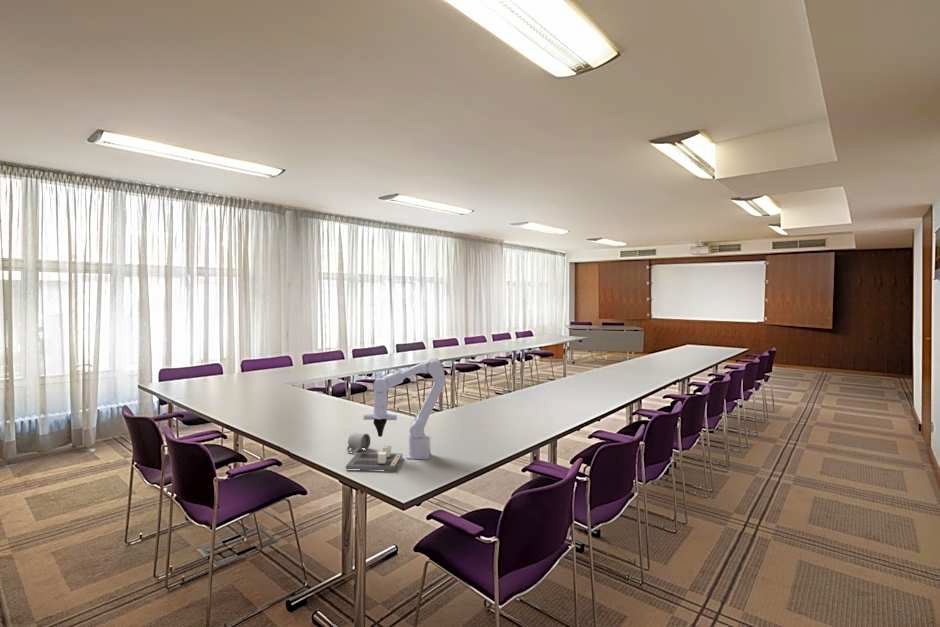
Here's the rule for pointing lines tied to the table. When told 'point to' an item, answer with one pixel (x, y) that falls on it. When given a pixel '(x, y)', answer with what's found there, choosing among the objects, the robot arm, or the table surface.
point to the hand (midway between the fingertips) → (380, 436)
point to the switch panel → (374, 462)
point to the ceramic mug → (358, 442)
